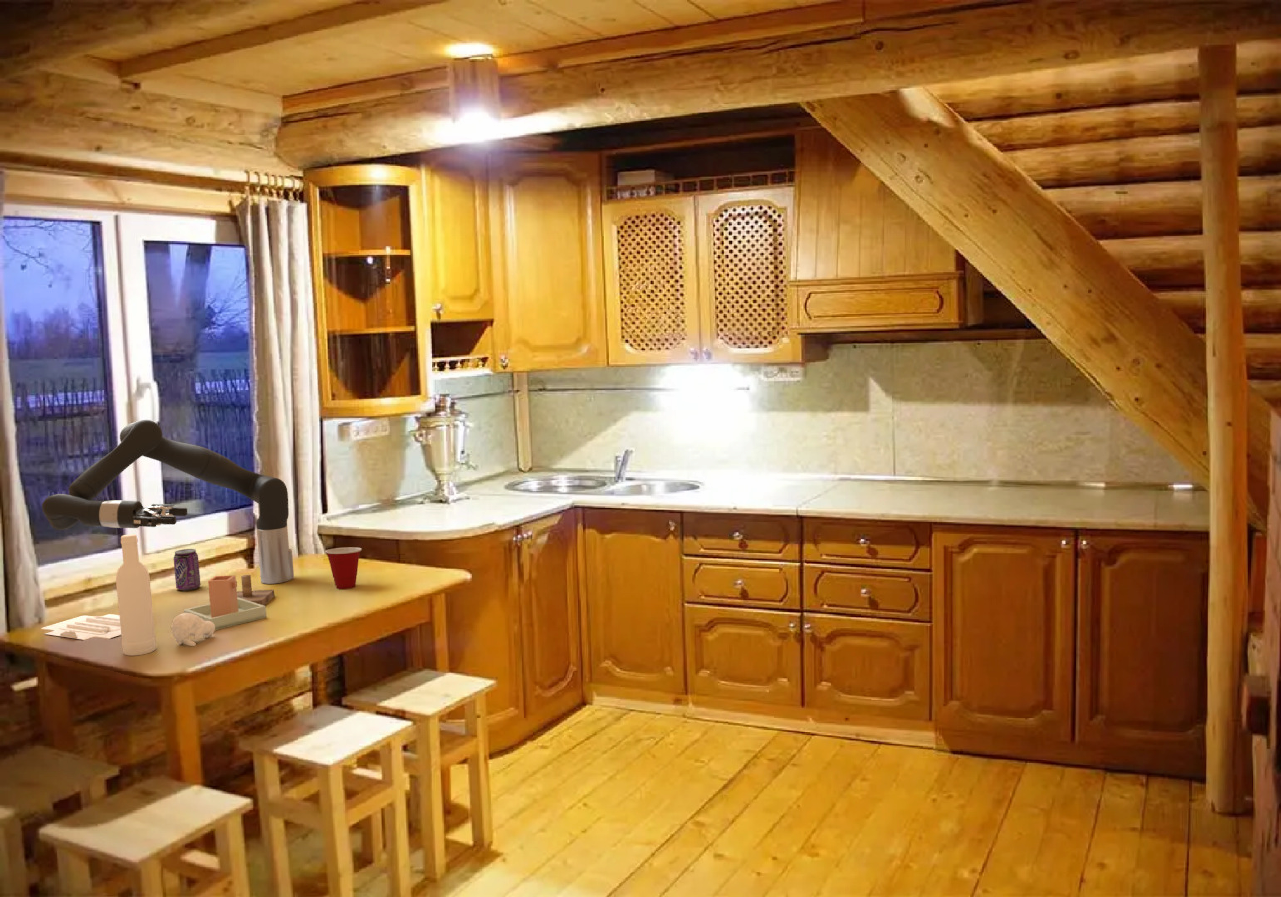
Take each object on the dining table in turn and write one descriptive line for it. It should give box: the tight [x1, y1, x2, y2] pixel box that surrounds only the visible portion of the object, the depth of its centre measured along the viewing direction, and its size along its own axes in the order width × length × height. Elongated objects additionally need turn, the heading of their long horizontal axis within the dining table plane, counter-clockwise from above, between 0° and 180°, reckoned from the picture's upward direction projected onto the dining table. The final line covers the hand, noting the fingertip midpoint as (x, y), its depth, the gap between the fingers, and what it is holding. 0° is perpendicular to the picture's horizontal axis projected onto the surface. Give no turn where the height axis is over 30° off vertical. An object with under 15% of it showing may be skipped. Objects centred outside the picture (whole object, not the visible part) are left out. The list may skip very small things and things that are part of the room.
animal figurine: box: [170, 612, 216, 647], centre depth 292 cm, size 6×8×12 cm
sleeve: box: [207, 574, 238, 618], centre depth 312 cm, size 6×6×11 cm
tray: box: [183, 597, 267, 631], centre depth 312 cm, size 16×16×3 cm
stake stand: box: [237, 574, 276, 606], centre depth 330 cm, size 12×12×8 cm
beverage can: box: [173, 548, 202, 592], centre depth 349 cm, size 7×7×12 cm
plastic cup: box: [324, 546, 362, 590], centre depth 344 cm, size 11×11×12 cm
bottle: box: [115, 533, 157, 657], centre depth 284 cm, size 8×8×30 cm
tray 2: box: [40, 613, 121, 641], centre depth 310 cm, size 20×28×4 cm
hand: (181, 516), depth 309 cm, fingers open, 8 cm apart
